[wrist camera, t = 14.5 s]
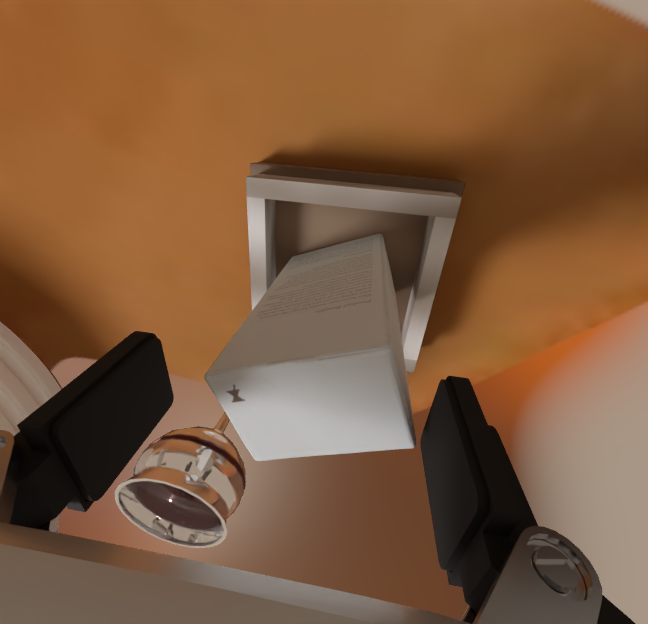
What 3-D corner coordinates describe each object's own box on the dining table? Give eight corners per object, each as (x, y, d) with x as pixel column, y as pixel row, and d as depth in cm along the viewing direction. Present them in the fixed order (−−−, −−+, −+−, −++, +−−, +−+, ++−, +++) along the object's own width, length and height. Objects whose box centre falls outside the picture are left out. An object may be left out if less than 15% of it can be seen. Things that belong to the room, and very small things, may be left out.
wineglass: (200, 371, 28) (95, 503, 18) (241, 331, 25) (145, 460, 15) (255, 414, 30) (189, 558, 20) (301, 381, 27) (252, 529, 17)
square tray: (259, 162, 19) (235, 165, 16) (459, 180, 18) (475, 188, 15) (263, 326, 25) (247, 352, 22) (414, 349, 24) (419, 379, 21)
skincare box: (312, 311, 22) (249, 465, 11) (291, 255, 20) (194, 375, 10) (398, 293, 20) (419, 454, 10) (384, 230, 18) (391, 342, 8)
